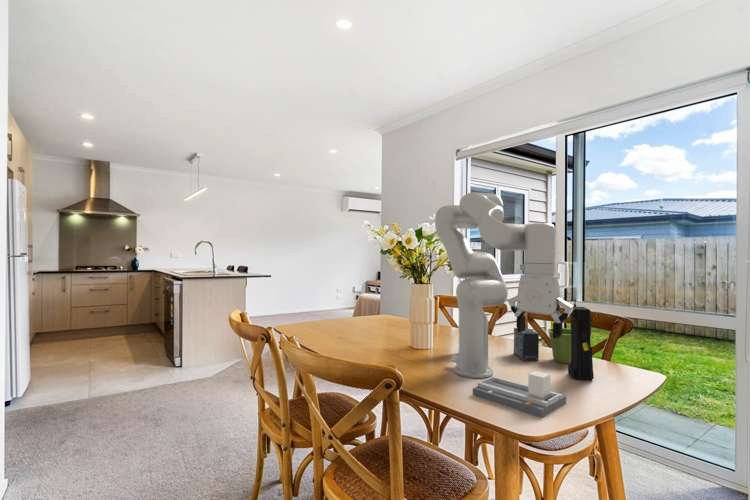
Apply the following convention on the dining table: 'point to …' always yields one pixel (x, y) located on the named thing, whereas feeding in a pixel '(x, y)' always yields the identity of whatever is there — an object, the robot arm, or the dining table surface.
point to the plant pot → (561, 346)
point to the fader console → (517, 396)
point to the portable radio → (581, 344)
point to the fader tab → (539, 385)
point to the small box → (526, 345)
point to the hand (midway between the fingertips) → (538, 334)
